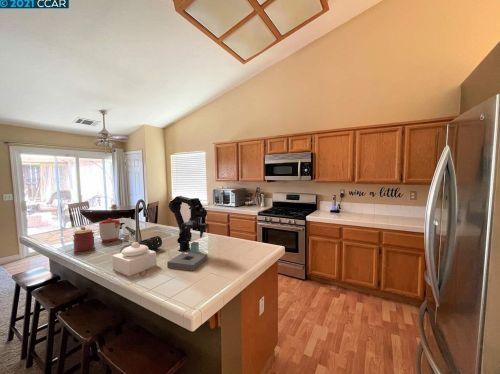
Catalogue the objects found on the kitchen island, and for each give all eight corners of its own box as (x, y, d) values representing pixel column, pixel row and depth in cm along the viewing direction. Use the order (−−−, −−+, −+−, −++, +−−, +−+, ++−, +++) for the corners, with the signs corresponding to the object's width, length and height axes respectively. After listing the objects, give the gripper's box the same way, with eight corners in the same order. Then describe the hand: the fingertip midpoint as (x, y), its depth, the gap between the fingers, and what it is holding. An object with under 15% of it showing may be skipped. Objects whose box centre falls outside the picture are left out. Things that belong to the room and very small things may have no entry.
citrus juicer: (115, 242, 185) (114, 219, 184) (95, 243, 185) (93, 219, 184) (126, 237, 200) (125, 216, 199) (107, 237, 201) (106, 216, 200)
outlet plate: (167, 267, 134) (167, 261, 134) (184, 256, 151) (184, 251, 151) (193, 270, 129) (193, 264, 129) (207, 259, 146) (207, 254, 146)
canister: (69, 250, 166) (68, 228, 165) (87, 245, 178) (86, 224, 177) (80, 253, 161) (79, 229, 160) (98, 247, 173) (97, 225, 172)
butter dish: (128, 276, 123) (127, 249, 122) (112, 269, 132) (111, 243, 131) (156, 265, 137) (155, 240, 137) (140, 259, 147) (139, 236, 146)
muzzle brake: (162, 249, 167) (162, 236, 167) (129, 262, 142) (128, 247, 142) (153, 247, 172) (153, 234, 171) (119, 260, 146) (118, 245, 146)
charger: (190, 254, 155) (190, 243, 155) (193, 252, 159) (193, 241, 159) (195, 255, 154) (195, 244, 154) (198, 253, 158) (198, 242, 158)
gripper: (176, 217, 150) (177, 239, 151) (201, 218, 145) (201, 242, 146) (185, 214, 161) (185, 235, 162) (208, 215, 156) (208, 237, 157)
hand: (195, 237), depth 156 cm, fingers open, 9 cm apart
